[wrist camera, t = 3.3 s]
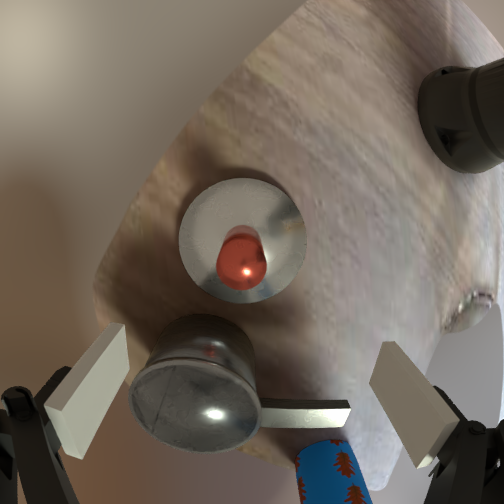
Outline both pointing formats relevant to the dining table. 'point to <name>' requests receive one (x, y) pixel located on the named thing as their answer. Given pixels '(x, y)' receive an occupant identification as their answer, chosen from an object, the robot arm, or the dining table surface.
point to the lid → (242, 240)
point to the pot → (214, 391)
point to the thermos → (330, 475)
